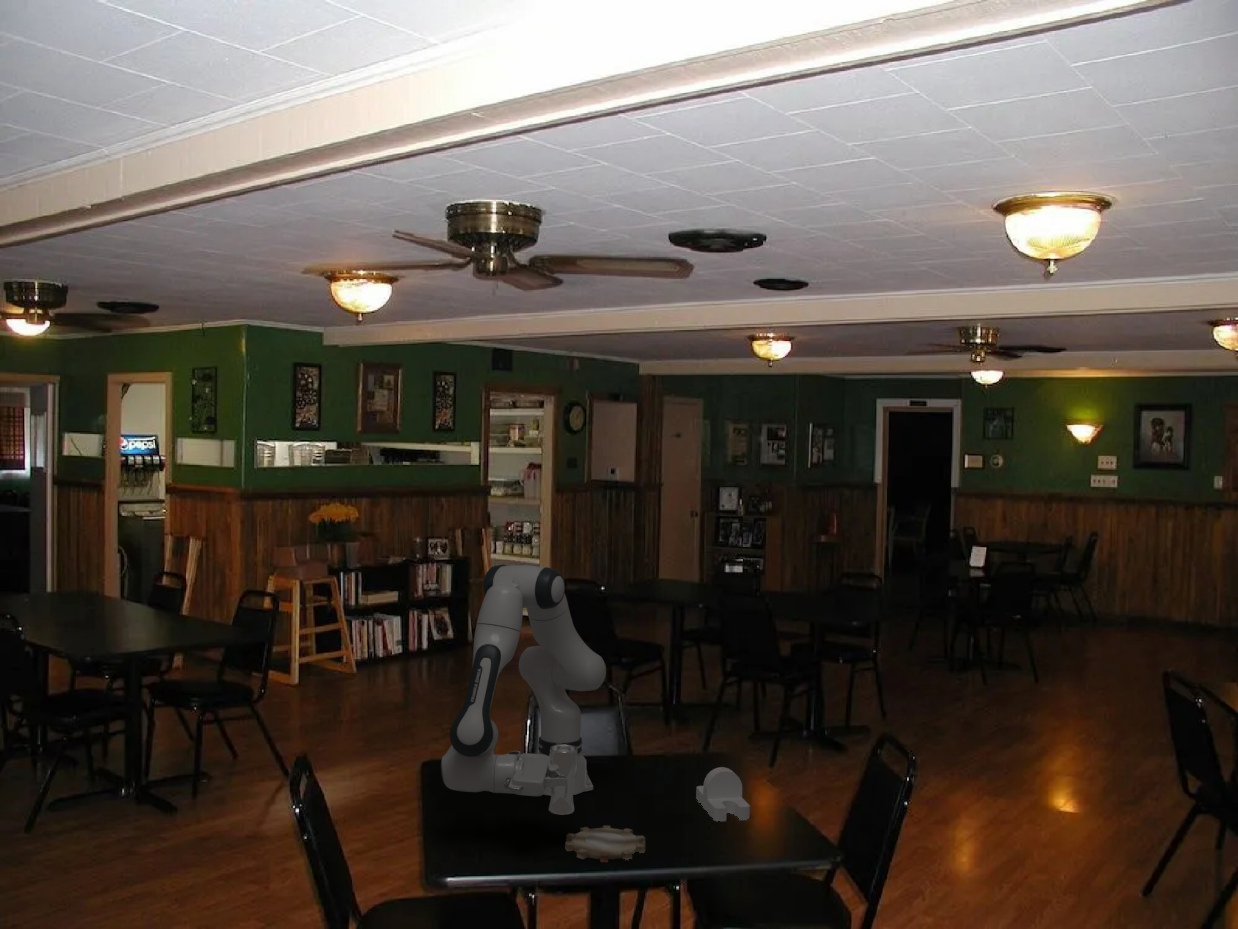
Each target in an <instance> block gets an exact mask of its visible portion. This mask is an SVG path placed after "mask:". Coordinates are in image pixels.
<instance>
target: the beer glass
mask: <svg viewBox="0 0 1238 929" xmlns="http://www.w3.org/2000/svg"><path fill="white" fill-rule="evenodd" d="M577 770H578V752H577V747H575V746H573V745H566V744H559V745H554V746H551V747H550V755H549V777H550V778H558V777H565V778H566V782H565V786H556V787H552V788H551V796H550V801H549V805H548V811H549V812H550V813H551V814H554V815H558V816H559V815H561V816H564V815H570V814H573V813H574V812H575V805H574V795H573V792H574V787H575V782H576V777H577Z"/></svg>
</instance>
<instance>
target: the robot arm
mask: <svg viewBox="0 0 1238 929" xmlns="http://www.w3.org/2000/svg"><path fill="white" fill-rule="evenodd" d="M482 591H483V595H484V598H483V601H482V604H481V606H480V608H479V612H478V617H477V620H476V625H475V626H476V627H475V630H474V637H473V649H472V650H473V654H472V667H471V673H470V676H469V682H468V684H467V685H468V686H467V689H466V693H465V699H464V702H463V705H462V707H461V709H460V711H459V712H458V714H457V716H456V717H455V718H454V720H453V722H452V723H451V726H450V729H449V740H450V741H449V742H450V744H451V745H450V747H449V749H448V750H447V751H446V752H445V754H444V755H443V756H442V757H441V760H440V774H441V779H442V782H443V784H444V786H445V787H447V788H448V789H450V790H452V791H457V792H466V793H467V792H468V793H479V792H484V791H485V792H491V793H492V794H514V795H519V796H527V797H528V796H529V797H542V796H543V795H544V796H550V797H551V788H552V787H556V786H565V782H566V778H565V777H558V778H550V777H549V755H550V747H551V746H554V745H559V744H566V745H573V746H575V747H577V752H578V770H577V777H576V782H575V787H574V792H573V796H574V795H575V796H576V795H578V794H581V793H583V792H589V791H593V790H594V785H593V783H592V781H591V779H590V777H589V774H588V770H587V758H585V756H584V755H583V754H582V750H583V749H582V748H583V739H582V737H581V728H582V727H581V721H582V713H581V709H580V708H579V706H578V704H576V703H575V702H574V701H573V700H572V699H571V698H570V696H568V694H567V690H570V691H577V692H587V691H596V690H598V689H599V688H600V687H601V686H602V684H603V683H604V682H605V679H606V675H607V667H606V663H605V661H604V659H603V658H602V656H601V655H599V654H598V653H596V652H595V651H594V650H592V649H591V648H590V647H589V646H588V645H587V644H586V643H585V642H584V640H583V639H582V637H581V636H580V634H579V633H578V631H577V630H576V627H575V626H574V623H573V619H572V616H571V612H570V607H569V603H568V599H567V596H566V593H565V592H566V582H565V578H564V576H563V575H562V574H561V572H560V571H559V570H556V569H555V568H552V567H547V566H546V567H542V566H537V565H529V564H511V565H506V564H498V565H494V566H491V567H490V568H489V569H488V570H487V572H486V573H485V574H484V576H483V580H482ZM524 609H526V611H527V616H528V619H529V623H530V628H531V632H532V636H533V638H534V640H535V641H536V643H537V644H539V645H535V646H528V647H526V648H525V649H524V651H523V652H522V653H521V655H520V657H519V659H518V660H519V661H518V671H519V674H520V675H521V678H522V679H523V681H525V682H526V684H528V685H529V687H530V688H531V690H532V691H533V693H534V695H535V698H536V701H537V704H538V708H539V716H540V720H539V721H540V726H539V727H540V731H539V732H540V734H539V737H538V741H537V746H538V749H537V750H538V753H530V752H529V753H528V752H527V753H525V752H524V753H521V751H519V750H512V751H510V752H508V753H506V754H505V753H504V754H497V753H496V754H495V751H496V747H497V743H498V739H499V730H498V726H497V724H496V723H495V722H494V720H493V719H491V708H492V703H493V698H494V694H495V690H496V685H497V681H498V677H499V675H500V673H501V672H502V670H503V668H504V667H505V666H506V665H508V664H509V663H510V662H511V660H512V659H513V658H514V655H515V652H516V650H517V647H518V644H519V640H520V637H521V630H522V624H523V616H524V615H523V614H524Z"/></svg>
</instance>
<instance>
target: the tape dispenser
mask: <svg viewBox="0 0 1238 929" xmlns="http://www.w3.org/2000/svg"><path fill="white" fill-rule="evenodd" d="M695 788H696V789H695V791H696V792H695V794H696V795H695V799H697V800H698V801H697V800H696V801H697V803H698V804H699V803H701V805H702V806H703V807H702V806H701V805H700V806H701V807H702V809H704V810H706V811H707V812H708V813H707V812H706V811H705V812H706V813H707V814H708V816H709V817H710V818H711V817H712V818H713V819H712V818H711V819H712V820H713V821H715V822H718V821H720V822H727V813H730V815H733V814H734V816H735V817H736V816H737V817H738V818H739V819H738V818H737V817H736V818H737V819H738V820H739V821H748V820H747V819H749V818H751V817H750V815H751V814H750V812H751V811H750V810H751V805H750V804H749V803H748V802H747V801H746V800H745V799H744V798H743V783H742V781H741V778H740V777H739V776H738V774H736V773H735V772H734V771H733V770H732V769H730V768H728V767H723V766H720V767H716V768H713V769H712V770H710V771H709V772H708V773H707V774H706V777H705V778H704V781H703V785H698V786H696V787H695ZM749 820H750V819H749Z"/></svg>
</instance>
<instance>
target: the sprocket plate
mask: <svg viewBox="0 0 1238 929" xmlns="http://www.w3.org/2000/svg"><path fill="white" fill-rule="evenodd" d="M579 830H580V831H578V832H577V833H573V832H572V833H570V832H568V833H567V834H566V835H565V837H566V840H565V843H564V849H565V850H566V852H573V851H574V852H575V853H576V858H578V859H581V860H585V859H586V858H590V859H596V860H599V862H600V863H609V860H618V859H619V860H620V859H623V860H624V859H625V860H624V861H626V860H627V861H630V860H629V859H631V860H633V855H635V854H636V853H635V852H639V853H638V854H641V853H643V854H644V853H645V852H646V837H645V836H644V835H643V834H642V835H636V834H634V833H633V831H634V830H633V829H630V828H627V827H626V828H624V829H619V828H612V827H611V825H606V824H605V825H602V827H597V828H589V827H588V826H584V827H580V828H579ZM634 853H635V854H634ZM632 854H633V855H632Z"/></svg>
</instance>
